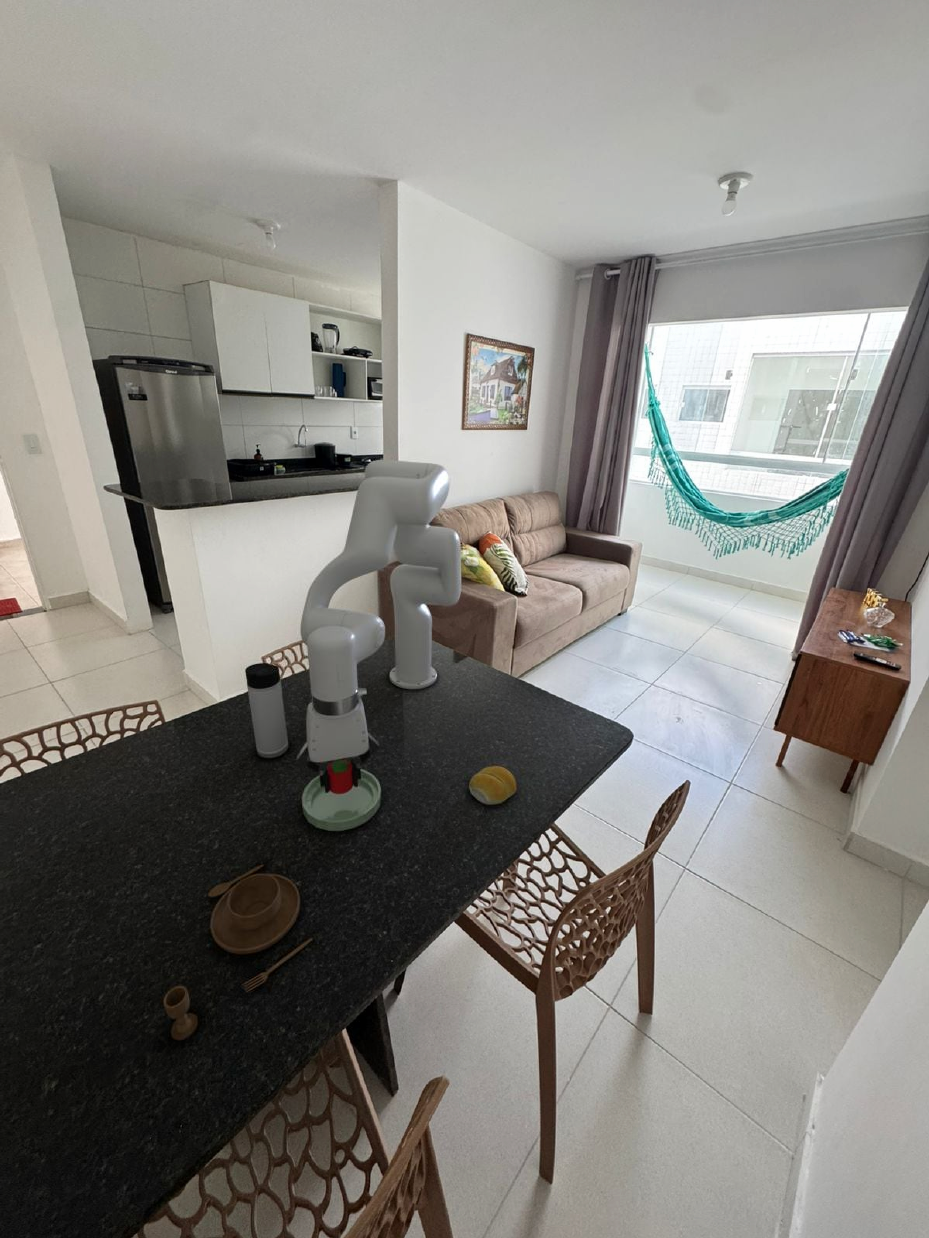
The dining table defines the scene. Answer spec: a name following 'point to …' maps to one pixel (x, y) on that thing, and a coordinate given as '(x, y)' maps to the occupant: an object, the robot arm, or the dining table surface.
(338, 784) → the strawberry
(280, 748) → the travel mug
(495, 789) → the bread roll
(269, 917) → the place setting
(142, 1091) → the dining table surface
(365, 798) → the dish
